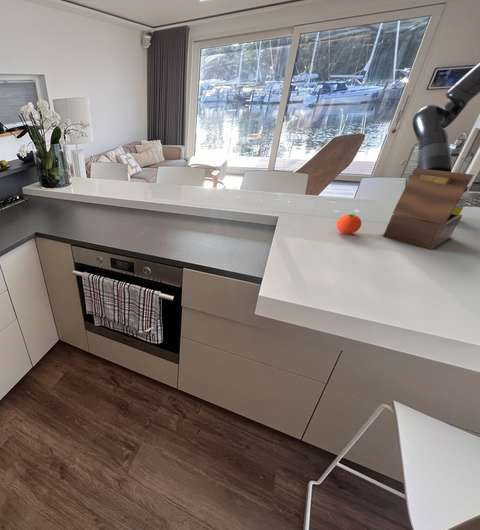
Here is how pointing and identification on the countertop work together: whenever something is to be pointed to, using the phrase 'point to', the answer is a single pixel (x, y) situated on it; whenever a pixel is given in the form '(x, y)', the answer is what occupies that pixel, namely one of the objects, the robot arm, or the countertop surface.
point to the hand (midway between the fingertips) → (435, 205)
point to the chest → (421, 230)
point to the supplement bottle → (461, 202)
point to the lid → (432, 195)
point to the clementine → (348, 223)
